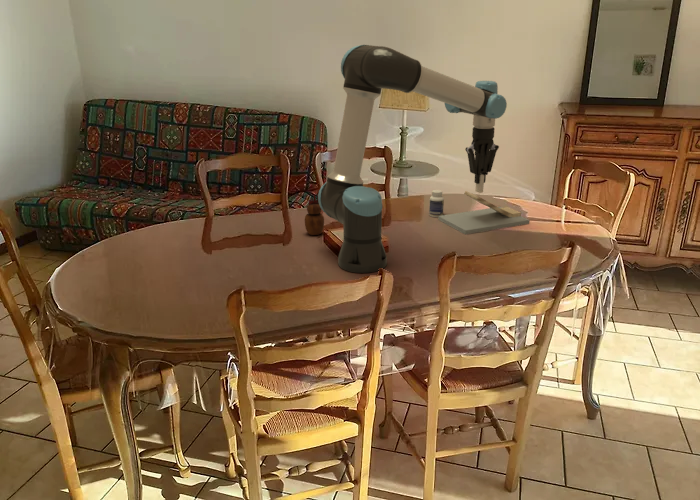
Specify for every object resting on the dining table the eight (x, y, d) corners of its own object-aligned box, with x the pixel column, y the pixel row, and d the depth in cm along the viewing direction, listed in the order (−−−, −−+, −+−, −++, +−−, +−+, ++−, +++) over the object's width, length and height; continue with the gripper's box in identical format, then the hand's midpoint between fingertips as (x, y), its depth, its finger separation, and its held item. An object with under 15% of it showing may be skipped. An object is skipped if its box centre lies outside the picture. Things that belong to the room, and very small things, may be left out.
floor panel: (465, 234, 208) (465, 227, 207) (438, 219, 223) (438, 212, 222) (529, 223, 218) (529, 216, 217) (499, 210, 234) (499, 203, 233)
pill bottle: (443, 217, 226) (445, 193, 222) (429, 217, 226) (430, 193, 222) (442, 213, 231) (443, 189, 227) (428, 213, 231) (429, 189, 227)
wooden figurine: (325, 231, 212) (324, 191, 207) (323, 236, 207) (322, 195, 201) (306, 230, 213) (305, 190, 207) (304, 236, 207) (302, 195, 202)
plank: (476, 199, 211) (478, 196, 211) (464, 193, 218) (465, 190, 218) (510, 217, 220) (511, 214, 220) (496, 211, 227) (498, 208, 227)
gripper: (474, 130, 201) (470, 196, 210) (505, 126, 206) (500, 192, 214) (461, 126, 207) (458, 191, 216) (492, 123, 212) (487, 187, 221)
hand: (479, 191), depth 215 cm, fingers closed
